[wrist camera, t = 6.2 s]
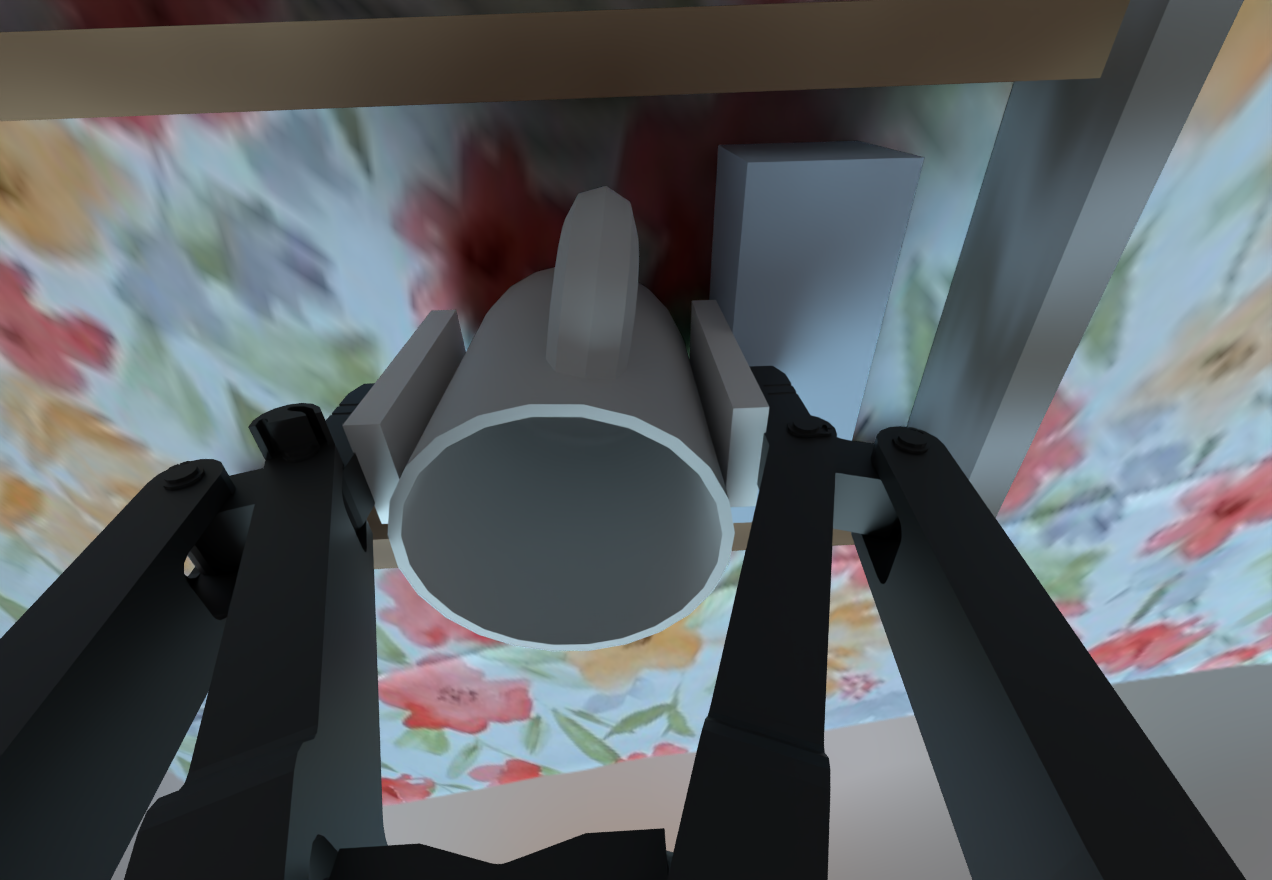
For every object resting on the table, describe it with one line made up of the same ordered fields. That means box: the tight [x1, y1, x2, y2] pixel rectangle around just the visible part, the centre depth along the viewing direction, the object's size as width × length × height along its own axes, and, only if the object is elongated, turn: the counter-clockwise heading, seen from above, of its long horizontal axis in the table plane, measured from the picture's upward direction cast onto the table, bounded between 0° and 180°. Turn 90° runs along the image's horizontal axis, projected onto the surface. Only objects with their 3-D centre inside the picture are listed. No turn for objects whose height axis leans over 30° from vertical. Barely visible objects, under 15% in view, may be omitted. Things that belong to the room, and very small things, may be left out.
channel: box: [0, 0, 1244, 569], centre depth 16 cm, size 16×28×4 cm, turn 92°
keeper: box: [709, 141, 925, 523], centre depth 17 cm, size 11×4×4 cm, turn 1°
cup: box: [388, 186, 735, 651], centre depth 14 cm, size 7×10×9 cm
